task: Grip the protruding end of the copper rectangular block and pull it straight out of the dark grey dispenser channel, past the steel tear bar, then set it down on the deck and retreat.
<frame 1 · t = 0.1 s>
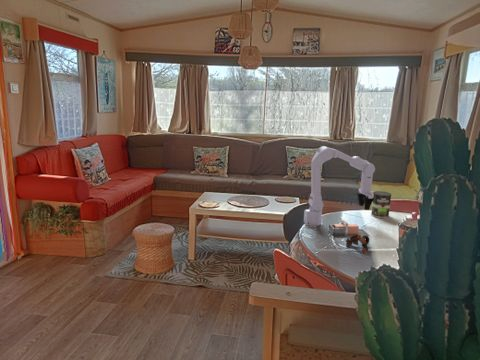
hand: (364, 207, 198), 10 cm above the table, fingers open, 7 cm apart
copper rectangular block: (345, 232, 185), point 1 cm above the table, touching dispenser
dispenser: (342, 234, 185), on the table
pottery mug: (358, 249, 167), on the table
coffee can: (379, 215, 217), on the table
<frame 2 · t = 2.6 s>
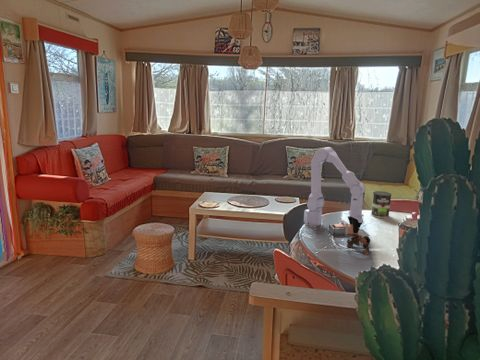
hand: (354, 231, 185), 2 cm above the table, fingers closed on copper rectangular block, 3 cm apart
copper rectangular block: (345, 232, 185), point 1 cm above the table, touching dispenser, gripper
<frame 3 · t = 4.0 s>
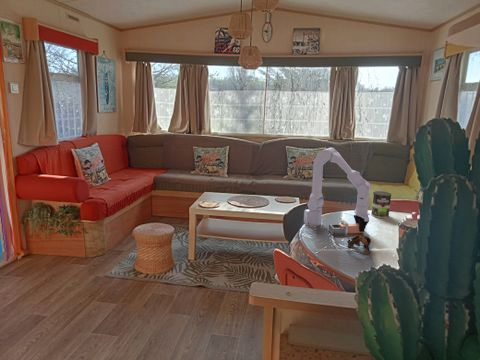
hand: (360, 230, 185), 2 cm above the table, fingers closed on copper rectangular block, 3 cm apart
copper rectangular block: (351, 232, 185), point 1 cm above the table, touching gripper
when the fingers open (2 cm above the table, at t = 5.8 s): copper rectangular block stays where it is, resting on dispenser.
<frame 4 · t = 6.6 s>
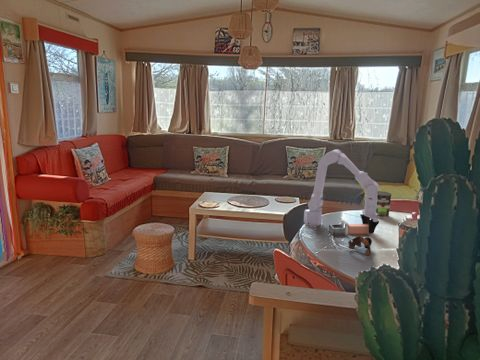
hand: (368, 230, 185), 2 cm above the table, fingers open, 7 cm apart
copper rectangular block: (359, 232, 185), point 1 cm above the table, touching dispenser
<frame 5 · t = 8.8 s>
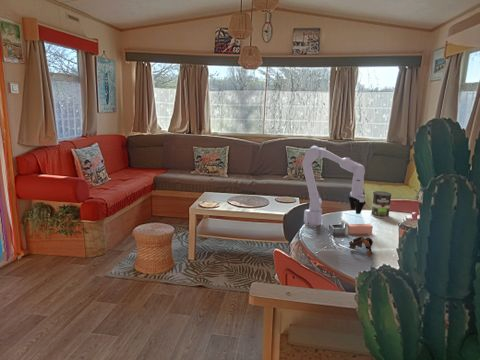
hand: (355, 211, 191), 10 cm above the table, fingers open, 7 cm apart
at the end: copper rectangular block inside the target area on the dispenser (1.9 cm from its centre), point 1.0 cm above the dispenser's base; the gripper is holding nothing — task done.
